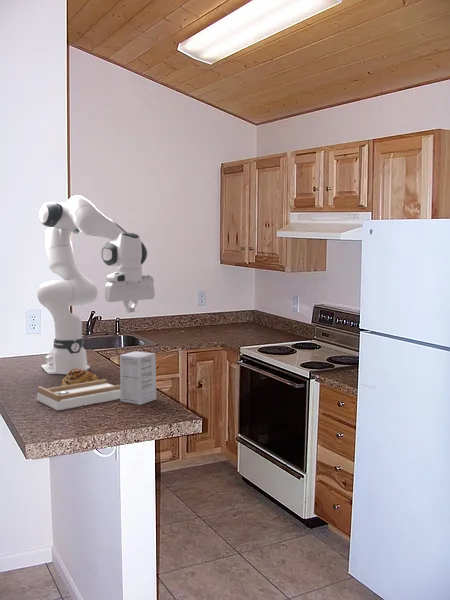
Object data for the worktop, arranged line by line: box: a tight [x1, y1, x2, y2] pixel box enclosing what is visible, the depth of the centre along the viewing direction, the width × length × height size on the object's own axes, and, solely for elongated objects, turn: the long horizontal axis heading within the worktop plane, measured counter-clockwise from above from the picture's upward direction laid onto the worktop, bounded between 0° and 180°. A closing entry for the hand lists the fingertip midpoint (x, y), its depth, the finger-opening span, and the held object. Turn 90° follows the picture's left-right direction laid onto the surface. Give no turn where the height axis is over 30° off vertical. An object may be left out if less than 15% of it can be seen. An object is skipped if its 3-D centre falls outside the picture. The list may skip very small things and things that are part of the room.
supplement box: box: [119, 350, 157, 406], centre depth 224 cm, size 10×9×17 cm
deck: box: [36, 378, 121, 411], centre depth 226 cm, size 16×26×5 cm, turn 130°
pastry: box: [60, 368, 100, 386], centre depth 243 cm, size 13×15×8 cm
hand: (130, 312), depth 241 cm, fingers closed
